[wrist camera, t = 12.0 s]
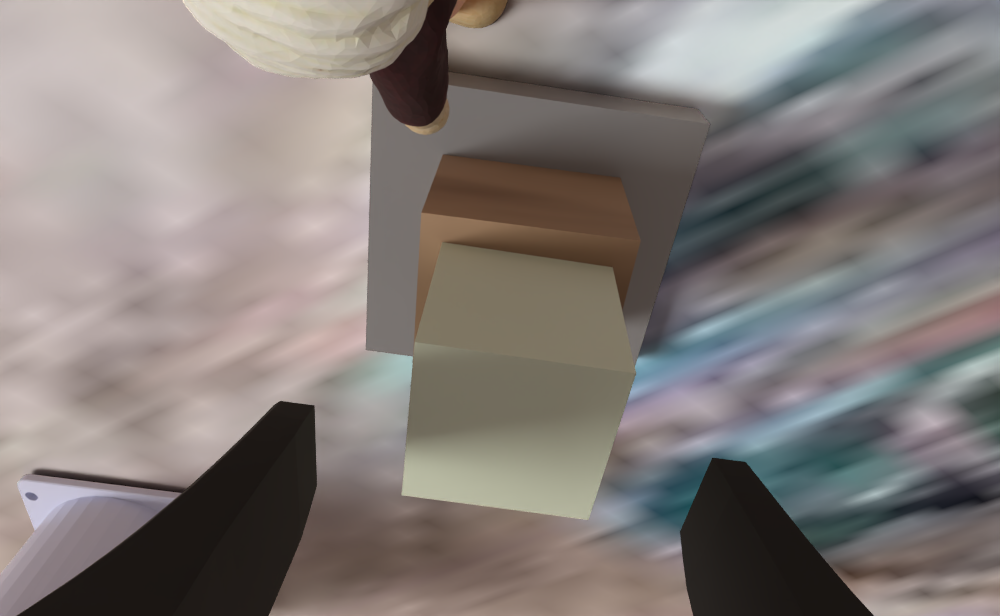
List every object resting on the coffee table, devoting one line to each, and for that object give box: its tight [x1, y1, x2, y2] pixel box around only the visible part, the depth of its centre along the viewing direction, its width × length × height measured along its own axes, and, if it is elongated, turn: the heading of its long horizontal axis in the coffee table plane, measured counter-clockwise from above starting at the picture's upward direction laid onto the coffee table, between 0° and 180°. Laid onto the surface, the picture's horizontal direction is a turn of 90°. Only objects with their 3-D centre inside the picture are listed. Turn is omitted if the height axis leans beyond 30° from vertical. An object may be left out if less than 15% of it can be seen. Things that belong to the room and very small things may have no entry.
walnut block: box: [413, 155, 641, 356], centre depth 17 cm, size 5×5×4 cm
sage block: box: [402, 242, 636, 520], centre depth 14 cm, size 4×4×4 cm
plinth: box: [366, 72, 710, 366], centre depth 20 cm, size 9×9×2 cm
